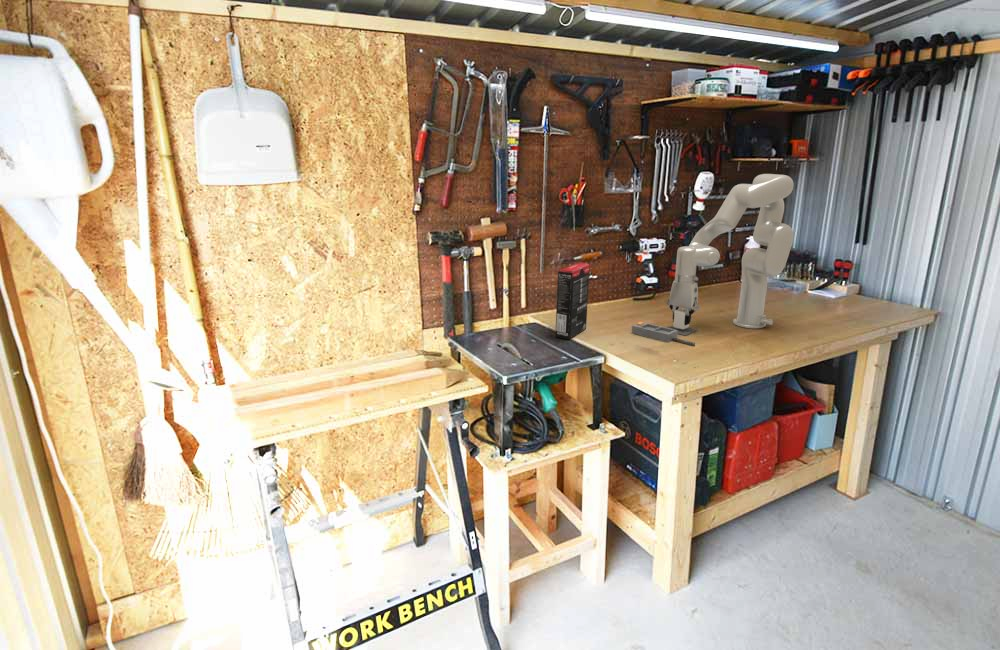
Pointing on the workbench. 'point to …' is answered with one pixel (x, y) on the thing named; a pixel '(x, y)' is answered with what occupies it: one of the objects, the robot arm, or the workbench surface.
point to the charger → (680, 319)
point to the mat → (684, 330)
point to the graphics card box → (572, 300)
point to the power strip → (658, 333)
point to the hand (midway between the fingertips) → (681, 322)
